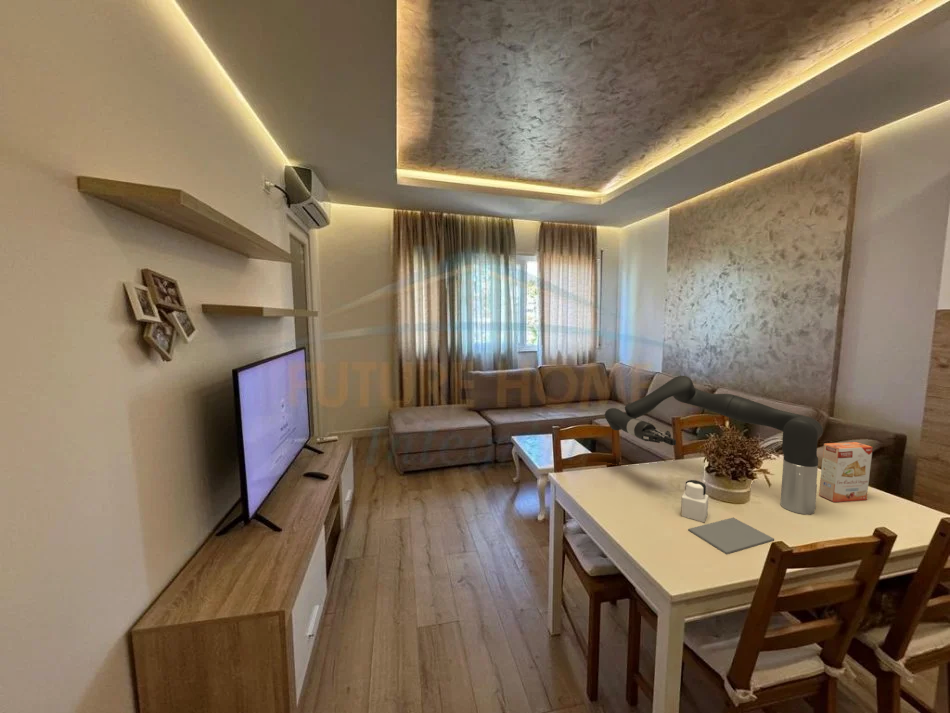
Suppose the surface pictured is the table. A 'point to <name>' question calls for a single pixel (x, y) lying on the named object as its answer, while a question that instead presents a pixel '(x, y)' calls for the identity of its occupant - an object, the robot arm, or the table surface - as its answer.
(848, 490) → the cracker box
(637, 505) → the table surface
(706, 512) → the medicine bottle
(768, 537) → the placemat
